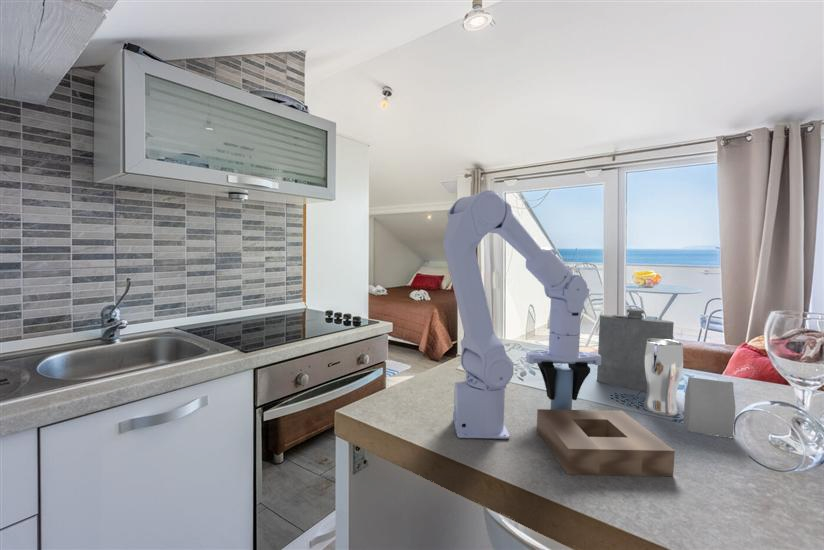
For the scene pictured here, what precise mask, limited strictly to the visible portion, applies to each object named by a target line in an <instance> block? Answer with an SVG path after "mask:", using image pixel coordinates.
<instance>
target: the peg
mask: <svg viewBox="0 0 824 550" xmlns="http://www.w3.org/2000/svg"><path fill="white" fill-rule="evenodd" d="M554 368H555V369H557V374H556V379H555V396H554V400H550V410H573V399H572V393H573V369H571V368H569V366H563V365H562V366H561V365H554Z"/></svg>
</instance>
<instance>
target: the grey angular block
mask: <svg viewBox="0 0 824 550" xmlns="http://www.w3.org/2000/svg"><path fill="white" fill-rule="evenodd" d="M686 384H687V385H686V388H685V393H684V405H683V406H684V407H683V420H682V421H683V422H682V423H683V425H684V427H685V428H686V430H687V431H688V432H690V431H691V433H696V432H697V433H698V434H702V433H703V435H708V434H711V435H710V436H714V435H719V436H726V437H733V438H734V436H735V435H733V424H734V425H735V422H734V421H736V420H735V418H736V408H737V407H736V400H735V399H736V398H735V391H734V382H733V381H726V380H718V379H709V378H702V377H693V376H688V378H687V383H686ZM719 436H718V437H719Z"/></svg>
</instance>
